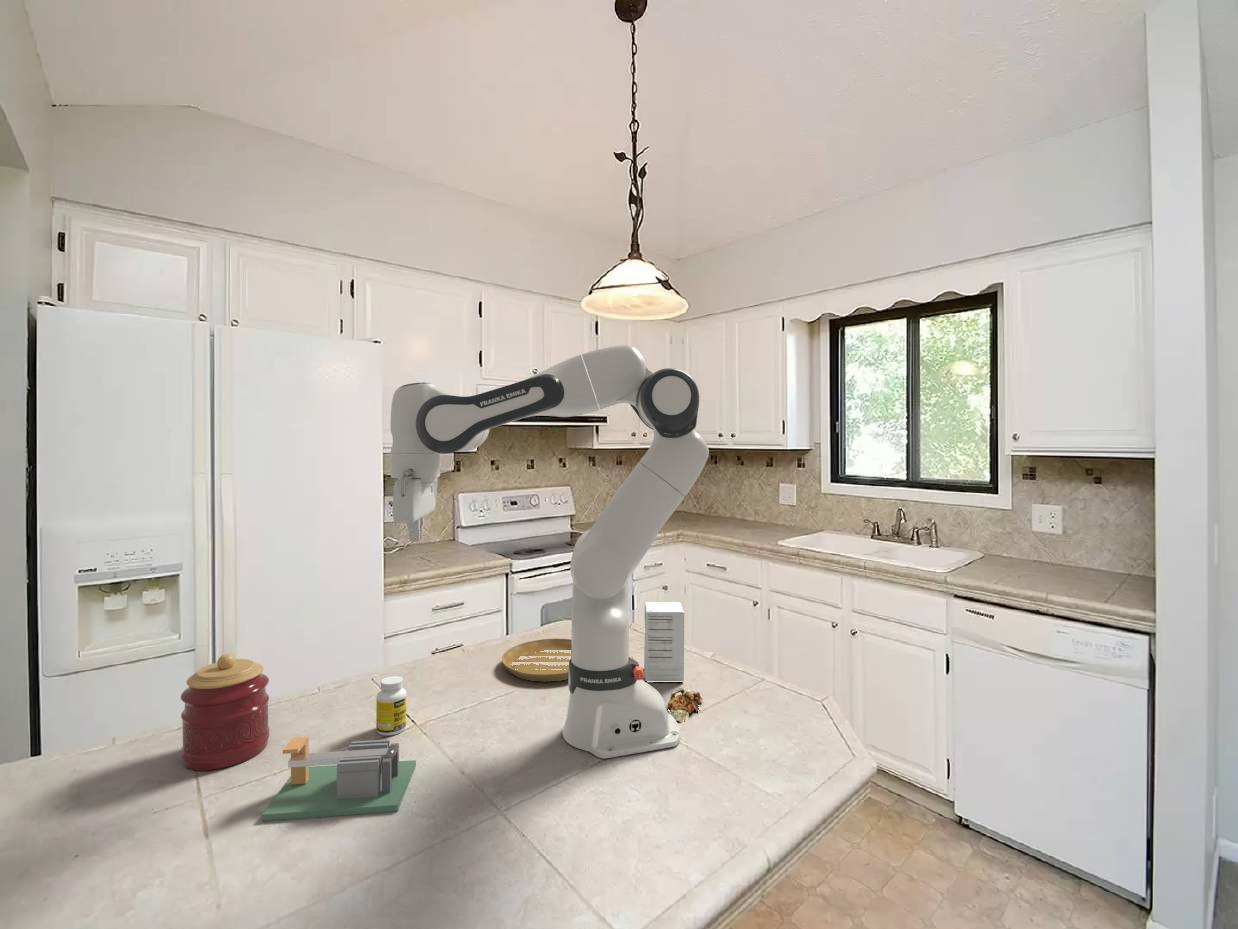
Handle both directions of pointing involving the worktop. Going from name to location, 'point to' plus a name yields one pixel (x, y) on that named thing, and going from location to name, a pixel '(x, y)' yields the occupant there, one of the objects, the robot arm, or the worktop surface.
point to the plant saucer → (538, 660)
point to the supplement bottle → (391, 707)
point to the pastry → (683, 704)
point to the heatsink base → (327, 794)
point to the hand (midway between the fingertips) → (416, 540)
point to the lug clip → (298, 747)
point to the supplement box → (664, 641)
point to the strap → (338, 756)
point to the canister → (224, 714)
